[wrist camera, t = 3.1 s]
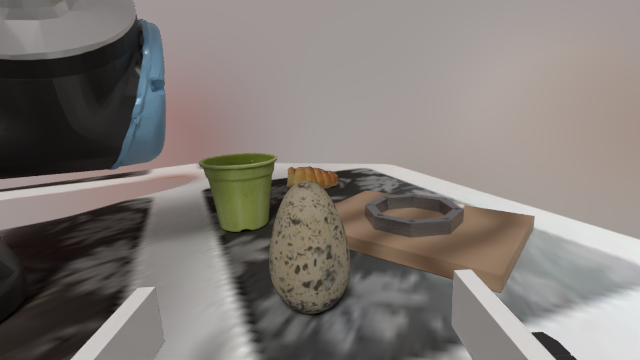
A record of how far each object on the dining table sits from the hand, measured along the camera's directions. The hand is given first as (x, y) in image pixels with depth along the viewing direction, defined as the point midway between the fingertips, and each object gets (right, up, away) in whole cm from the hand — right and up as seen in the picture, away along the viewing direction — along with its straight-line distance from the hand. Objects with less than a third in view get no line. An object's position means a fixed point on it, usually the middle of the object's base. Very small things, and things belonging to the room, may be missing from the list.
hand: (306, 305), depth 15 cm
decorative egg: (0, -4, +11) cm, 12 cm away
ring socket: (+11, +1, +24) cm, 27 cm away
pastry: (-1, +4, +48) cm, 48 cm away
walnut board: (+11, 0, +25) cm, 27 cm away
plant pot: (-9, 0, +30) cm, 31 cm away
